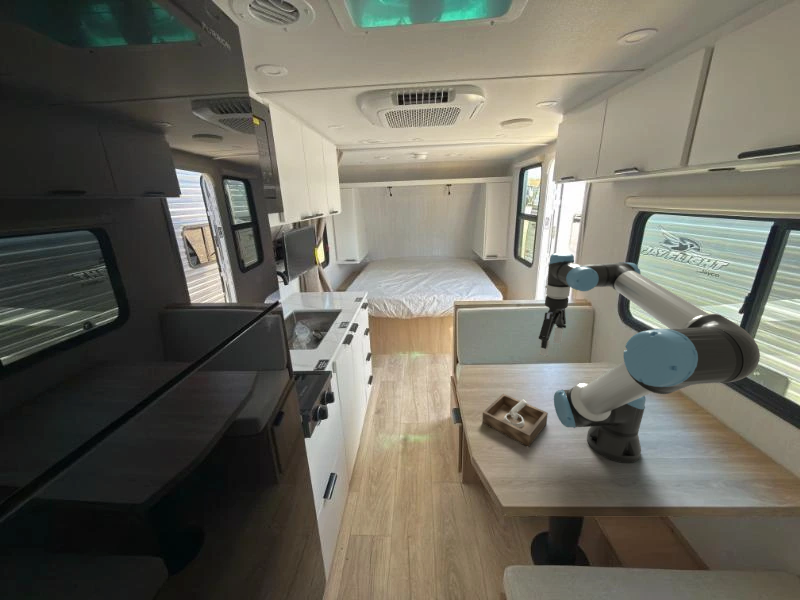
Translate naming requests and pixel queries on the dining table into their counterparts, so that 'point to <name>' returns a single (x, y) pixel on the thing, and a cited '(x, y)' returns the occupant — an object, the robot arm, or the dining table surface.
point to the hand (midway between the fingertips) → (550, 348)
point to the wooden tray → (530, 414)
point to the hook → (514, 414)
